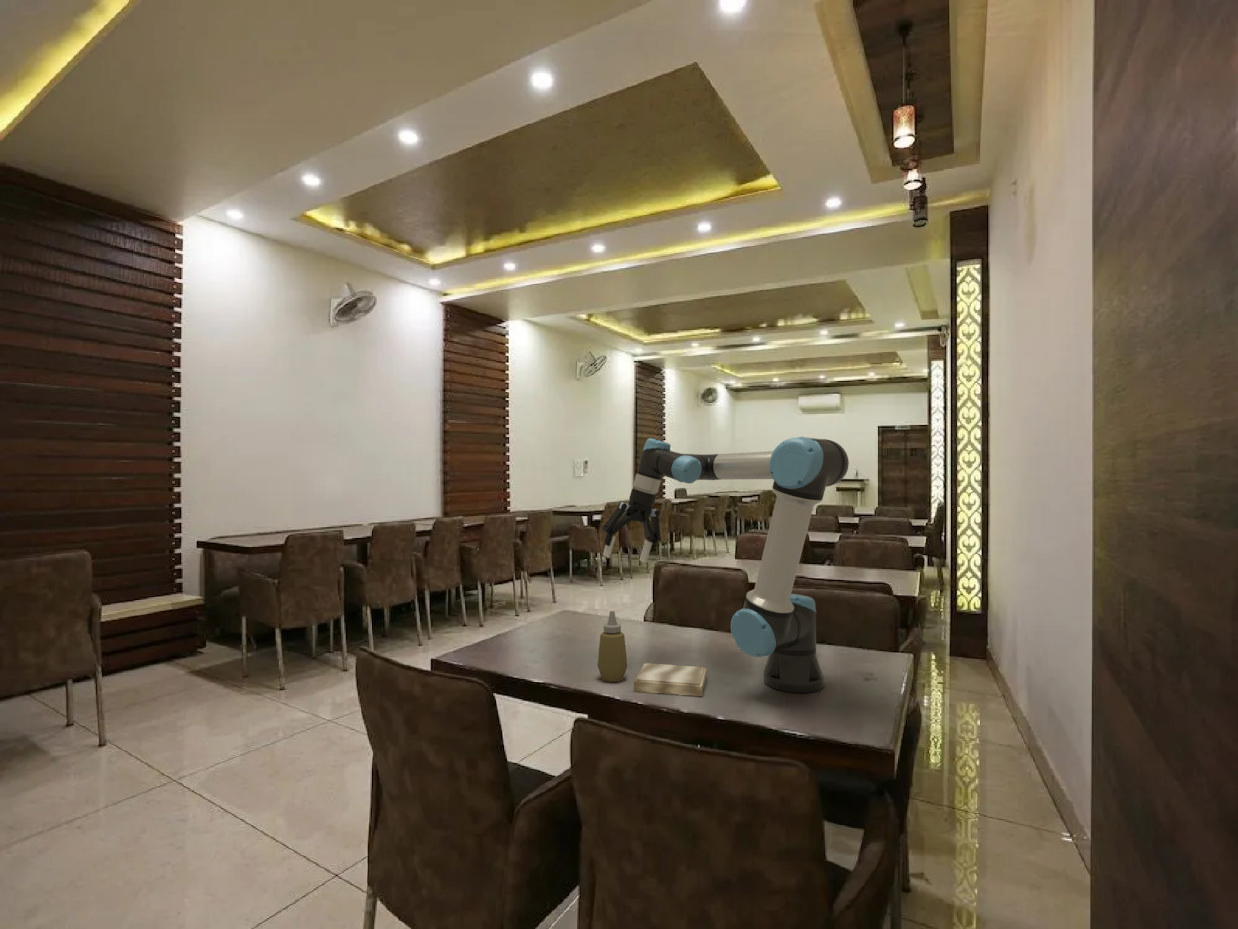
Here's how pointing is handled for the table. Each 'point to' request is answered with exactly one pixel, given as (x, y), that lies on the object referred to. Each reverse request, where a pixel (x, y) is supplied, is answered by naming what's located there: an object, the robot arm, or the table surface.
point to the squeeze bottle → (612, 651)
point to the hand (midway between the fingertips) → (624, 559)
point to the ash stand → (670, 679)
